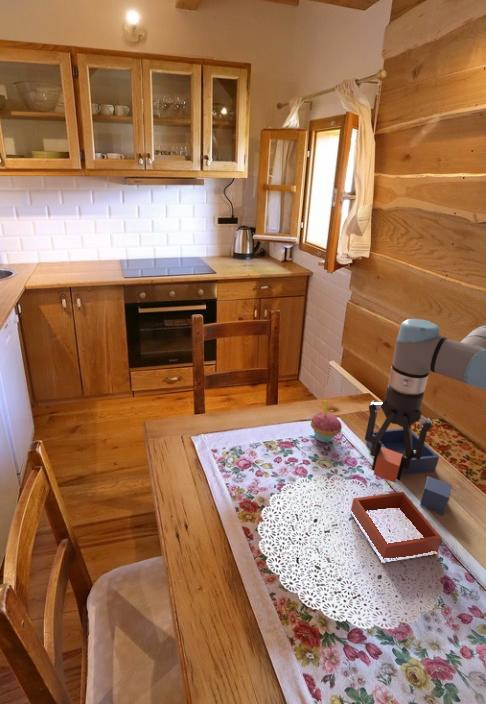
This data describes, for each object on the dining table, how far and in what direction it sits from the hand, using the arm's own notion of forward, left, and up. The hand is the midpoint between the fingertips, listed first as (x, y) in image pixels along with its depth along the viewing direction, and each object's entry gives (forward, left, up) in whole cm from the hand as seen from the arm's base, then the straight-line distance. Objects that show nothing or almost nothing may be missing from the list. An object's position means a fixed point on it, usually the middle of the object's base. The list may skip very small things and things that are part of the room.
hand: (386, 471), depth 98 cm
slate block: (-7, -9, -5) cm, 12 cm away
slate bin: (+9, -11, -5) cm, 15 cm away
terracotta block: (0, 0, 0) cm, 0 cm away
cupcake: (+20, +6, -5) cm, 22 cm away
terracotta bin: (-13, +6, -5) cm, 15 cm away
